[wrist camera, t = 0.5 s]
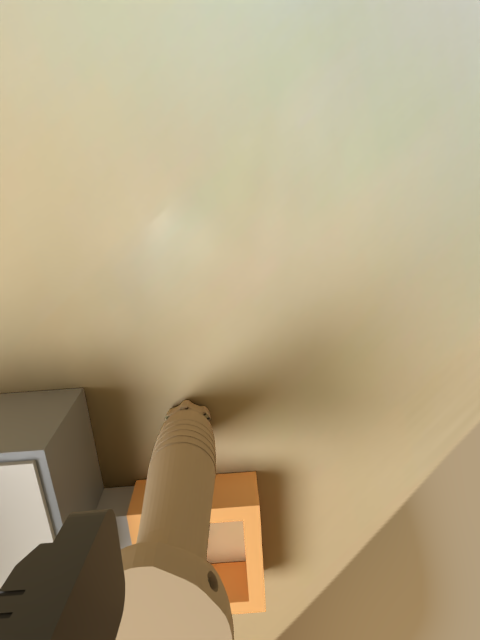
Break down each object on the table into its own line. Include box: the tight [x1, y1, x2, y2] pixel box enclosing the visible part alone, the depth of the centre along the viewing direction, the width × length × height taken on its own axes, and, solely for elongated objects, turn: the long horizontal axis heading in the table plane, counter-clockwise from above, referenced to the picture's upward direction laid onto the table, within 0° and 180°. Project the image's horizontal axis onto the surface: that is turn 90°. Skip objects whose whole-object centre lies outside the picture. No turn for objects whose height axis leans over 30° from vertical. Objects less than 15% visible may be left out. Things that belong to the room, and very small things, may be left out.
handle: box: [116, 400, 234, 640], centre depth 24 cm, size 5×6×15 cm
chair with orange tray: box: [0, 388, 266, 614], centre depth 25 cm, size 18×22×17 cm
